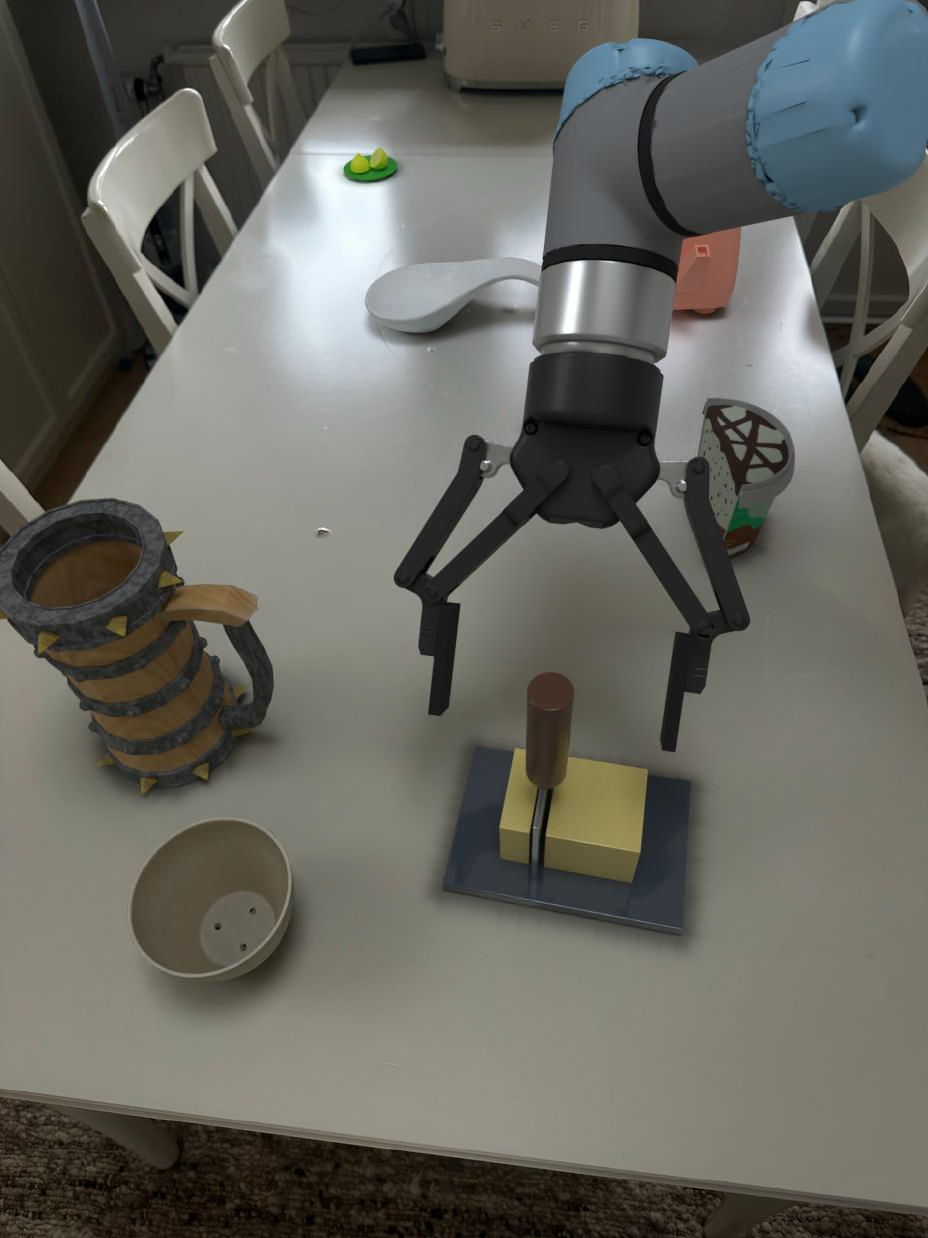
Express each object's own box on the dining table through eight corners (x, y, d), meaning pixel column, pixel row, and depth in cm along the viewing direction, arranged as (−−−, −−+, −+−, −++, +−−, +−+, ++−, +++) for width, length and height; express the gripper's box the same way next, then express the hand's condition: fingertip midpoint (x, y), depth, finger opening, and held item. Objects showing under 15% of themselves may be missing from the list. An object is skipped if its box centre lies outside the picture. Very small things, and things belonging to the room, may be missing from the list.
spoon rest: (360, 347, 100) (351, 289, 94) (377, 291, 107) (369, 235, 102) (565, 351, 98) (569, 292, 92) (568, 294, 105) (571, 237, 99)
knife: (568, 778, 63) (583, 637, 50) (552, 883, 58) (564, 757, 45) (533, 772, 63) (538, 631, 50) (514, 876, 59) (514, 749, 45)
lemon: (386, 154, 131) (384, 134, 129) (405, 175, 126) (403, 155, 124) (336, 166, 129) (333, 146, 127) (354, 188, 125) (351, 168, 123)
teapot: (741, 345, 97) (770, 221, 86) (627, 350, 97) (642, 227, 86) (707, 245, 110) (728, 127, 99) (607, 249, 111) (618, 132, 100)
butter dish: (689, 787, 63) (703, 745, 58) (680, 935, 57) (695, 902, 52) (475, 751, 66) (472, 709, 61) (443, 890, 59) (437, 854, 55)
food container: (789, 568, 76) (821, 483, 68) (720, 574, 76) (744, 489, 68) (750, 474, 84) (775, 388, 76) (687, 479, 84) (705, 393, 76)
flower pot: (173, 868, 61) (138, 824, 55) (314, 853, 61) (294, 808, 56) (154, 1018, 55) (113, 985, 49) (311, 1001, 55) (288, 967, 49)
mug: (132, 655, 73) (29, 478, 58) (328, 676, 71) (276, 498, 55) (65, 792, 65) (-75, 629, 50) (283, 821, 63) (208, 660, 47)
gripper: (814, 390, 50) (758, 745, 53) (399, 355, 54) (366, 686, 57) (848, 366, 43) (781, 780, 45) (364, 328, 47) (328, 709, 49)
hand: (550, 728), depth 51 cm, fingers open, 13 cm apart
